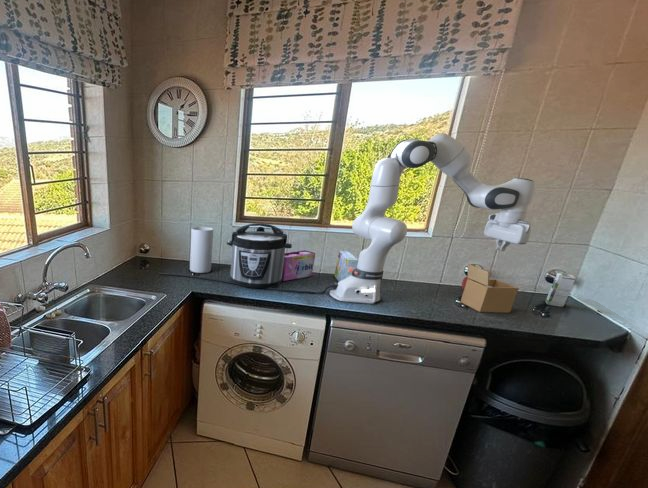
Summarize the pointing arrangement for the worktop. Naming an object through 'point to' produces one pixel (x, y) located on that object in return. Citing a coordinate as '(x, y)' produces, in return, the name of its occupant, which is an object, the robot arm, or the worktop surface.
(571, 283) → the syrup box
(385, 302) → the worktop surface
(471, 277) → the flap
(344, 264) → the snack box
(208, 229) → the cylinder vase
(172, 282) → the worktop surface
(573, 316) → the worktop surface
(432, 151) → the robot arm
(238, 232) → the pressure cooker
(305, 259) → the gum box
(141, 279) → the worktop surface
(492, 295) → the open cardboard box
